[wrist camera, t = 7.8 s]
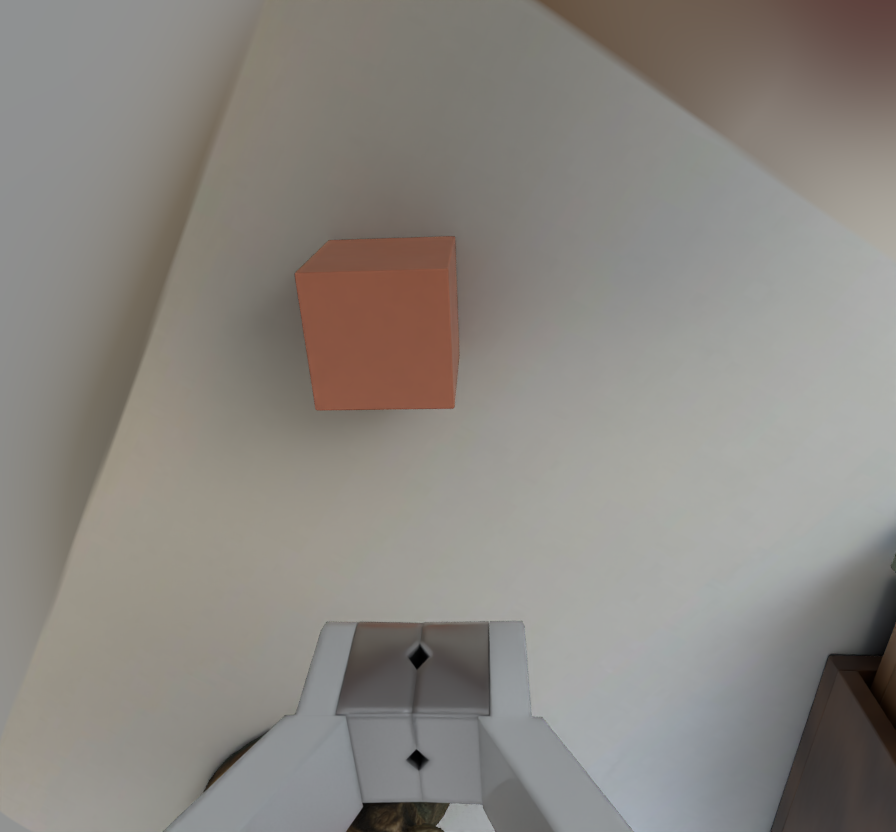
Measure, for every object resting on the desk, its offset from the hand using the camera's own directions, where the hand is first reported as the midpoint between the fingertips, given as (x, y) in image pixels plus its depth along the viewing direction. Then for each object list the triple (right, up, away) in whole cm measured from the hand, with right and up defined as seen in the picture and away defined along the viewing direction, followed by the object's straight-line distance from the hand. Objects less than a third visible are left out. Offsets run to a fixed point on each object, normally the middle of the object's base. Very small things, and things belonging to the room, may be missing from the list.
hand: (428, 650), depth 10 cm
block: (-2, +8, +14) cm, 16 cm away
